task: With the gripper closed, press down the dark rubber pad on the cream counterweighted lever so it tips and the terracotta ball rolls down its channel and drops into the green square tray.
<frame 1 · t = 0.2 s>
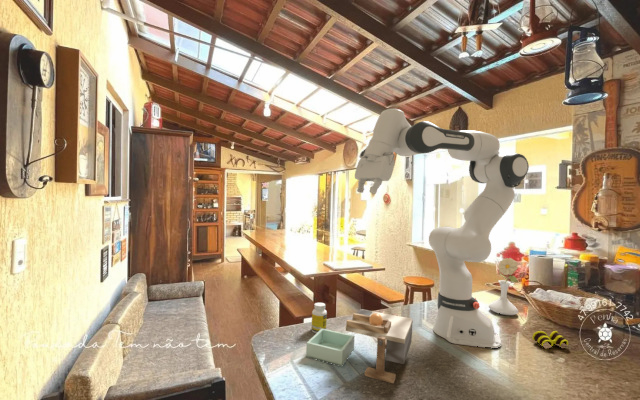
hand: (365, 192, 107), 51 cm above the kitchen counter, tool tilted 20°, fingers open, 8 cm apart
yellow black striped piece: (550, 347, 110), on the kitchen counter
lever stand: (387, 360, 97), on the kitchen counter
supplement bottle: (318, 331, 116), on the kitchen counter
lever: (380, 331, 98), point 8 cm above the kitchen counter, hinge at 0.0°, touching ball
green square tray: (330, 353, 100), on the kitchen counter
flower in vase: (504, 313, 140), on the kitchen counter
ball: (376, 320, 94), point 13 cm above the kitchen counter, touching lever
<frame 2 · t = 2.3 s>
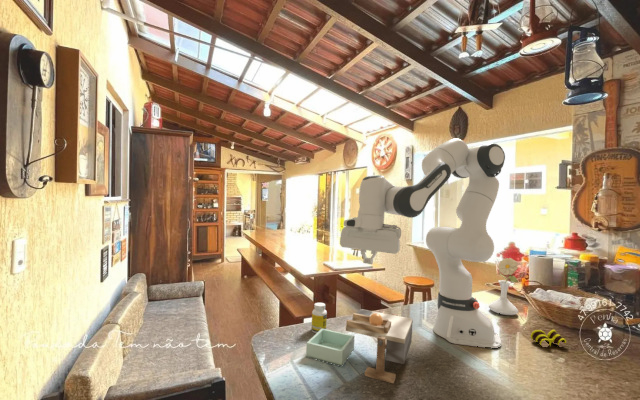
hand: (368, 263, 108), 27 cm above the kitchen counter, tool pointing down, fingers closed
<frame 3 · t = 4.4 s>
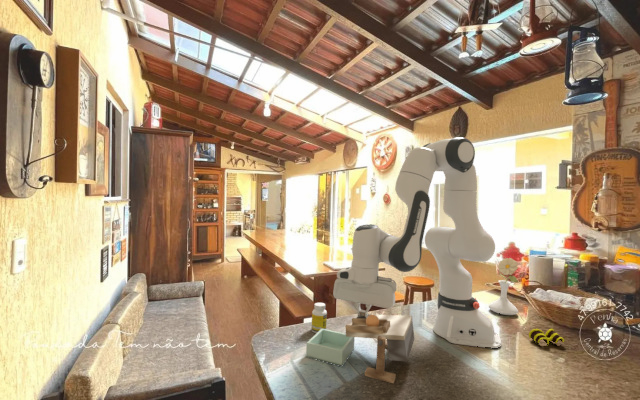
hand: (362, 316, 104), 10 cm above the kitchen counter, tool pointing down, fingers closed, pressing on lever
lever: (381, 332, 97), point 8 cm above the kitchen counter, hinge at 9.0°, touching ball, gripper
ball: (372, 321, 94), point 13 cm above the kitchen counter, tilted 25°, touching lever
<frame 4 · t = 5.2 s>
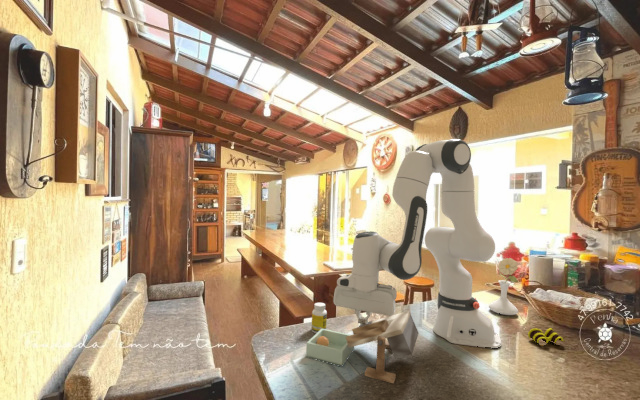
hand: (362, 323, 104), 8 cm above the kitchen counter, tool pointing down, fingers closed
lever: (383, 335, 97), point 7 cm above the kitchen counter, hinge at 26.1°, touching gripper
ball: (322, 342, 101), point 3 cm above the kitchen counter, tilted 154°, touching green square tray
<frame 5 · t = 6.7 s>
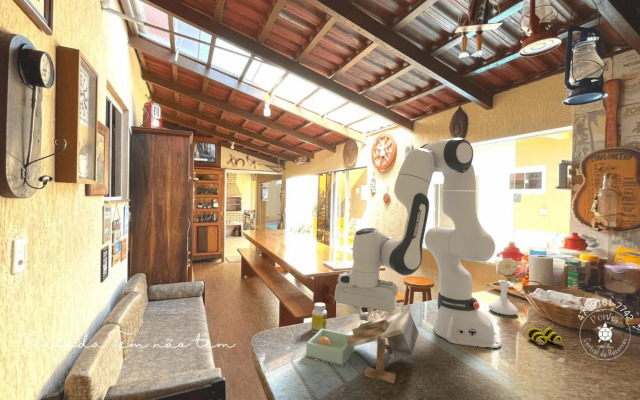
hand: (364, 319, 104), 9 cm above the kitchen counter, tool pointing down, fingers closed
lever: (383, 335, 97), point 7 cm above the kitchen counter, hinge at 26.3°
ball: (323, 343, 101), point 3 cm above the kitchen counter, tilted 142°, touching green square tray
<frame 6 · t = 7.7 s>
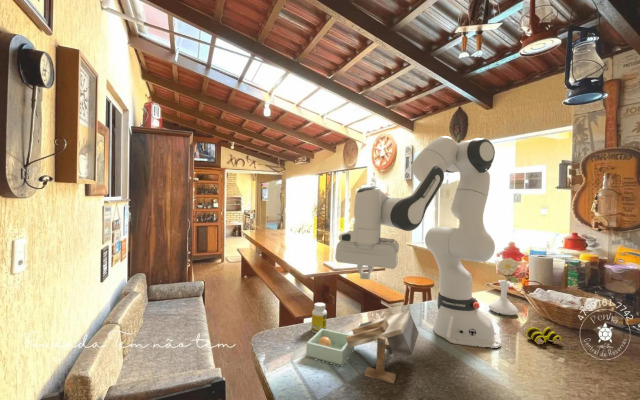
hand: (365, 278, 104), 23 cm above the kitchen counter, tool pointing down, fingers closed
ball: (324, 343, 101), point 3 cm above the kitchen counter, tilted 134°, touching green square tray
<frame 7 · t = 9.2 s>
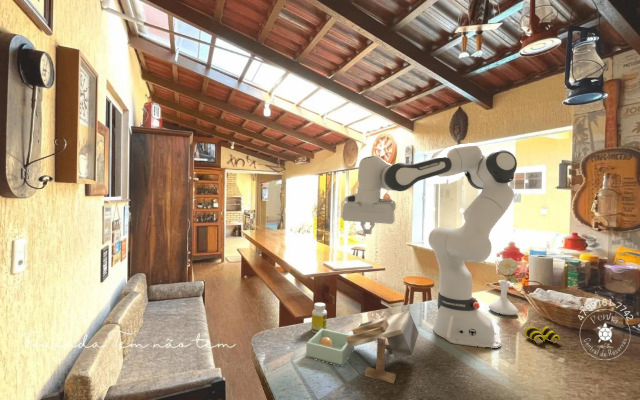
hand: (367, 234, 123), 35 cm above the kitchen counter, tool pointing down, fingers closed
ball: (325, 343, 101), point 3 cm above the kitchen counter, tilted 121°, touching green square tray
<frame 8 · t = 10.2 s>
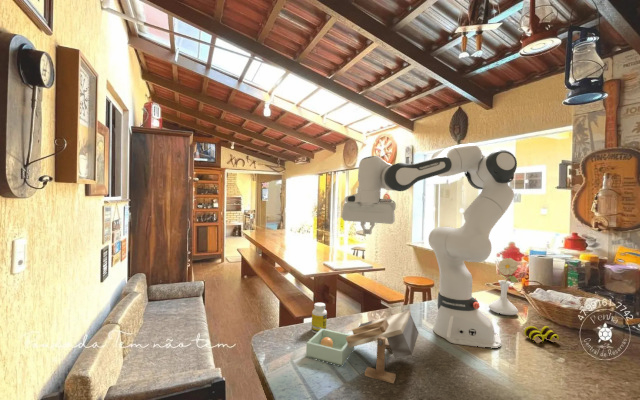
hand: (367, 234, 123), 35 cm above the kitchen counter, tool pointing down, fingers closed
ball: (326, 344, 101), point 3 cm above the kitchen counter, tilted 113°, touching green square tray
at the end: ball inside the target area on the green square tray (1.4 cm from its centre), point 2.6 cm above the green square tray's base; ball touching green square tray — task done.
